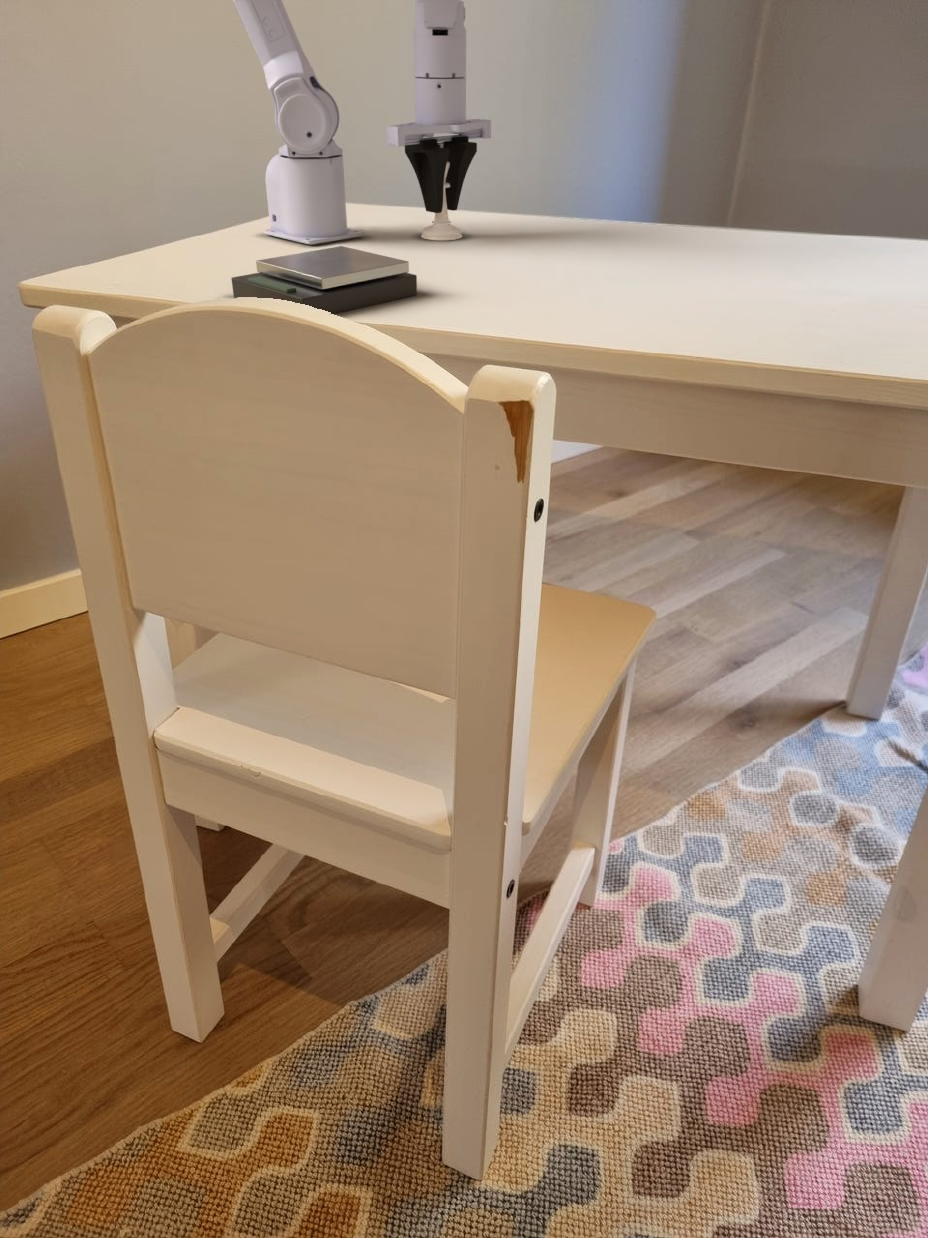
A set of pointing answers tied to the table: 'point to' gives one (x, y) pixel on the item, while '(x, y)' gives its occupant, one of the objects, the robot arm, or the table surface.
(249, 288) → the scale
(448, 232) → the chess piece
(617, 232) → the table surface
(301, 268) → the scale pan
